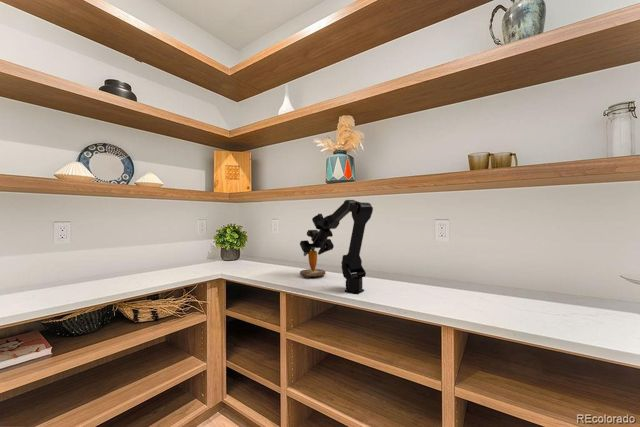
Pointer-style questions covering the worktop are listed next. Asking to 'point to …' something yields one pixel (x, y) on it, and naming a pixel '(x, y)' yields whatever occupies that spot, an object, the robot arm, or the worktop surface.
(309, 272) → the walnut base
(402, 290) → the worktop surface
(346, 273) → the robot arm
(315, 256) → the carrot
